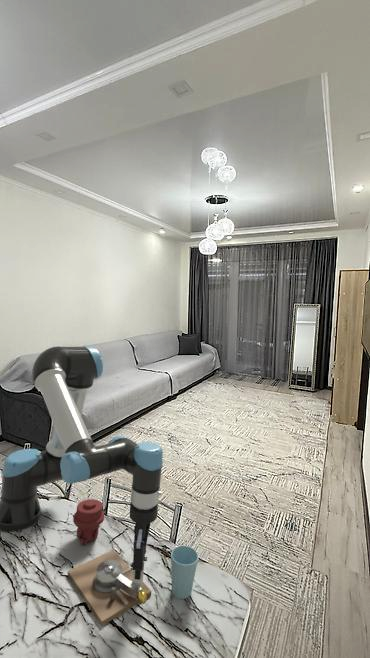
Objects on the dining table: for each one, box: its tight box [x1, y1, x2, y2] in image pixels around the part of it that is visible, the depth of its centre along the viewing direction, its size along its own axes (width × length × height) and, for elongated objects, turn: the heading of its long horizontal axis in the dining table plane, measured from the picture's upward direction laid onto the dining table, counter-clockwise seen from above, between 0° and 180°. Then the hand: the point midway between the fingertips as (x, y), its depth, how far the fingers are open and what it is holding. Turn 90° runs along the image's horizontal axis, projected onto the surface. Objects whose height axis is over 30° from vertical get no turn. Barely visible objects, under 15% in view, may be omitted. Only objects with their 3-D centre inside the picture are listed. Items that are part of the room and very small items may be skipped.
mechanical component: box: [72, 498, 105, 546], centre depth 110 cm, size 12×10×10 cm
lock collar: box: [96, 560, 148, 605], centre depth 89 cm, size 7×17×3 cm, turn 56°
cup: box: [170, 545, 199, 600], centre depth 92 cm, size 8×8×10 cm
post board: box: [67, 549, 152, 627], centre depth 92 cm, size 20×15×4 cm
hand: (137, 586), depth 89 cm, fingers closed
